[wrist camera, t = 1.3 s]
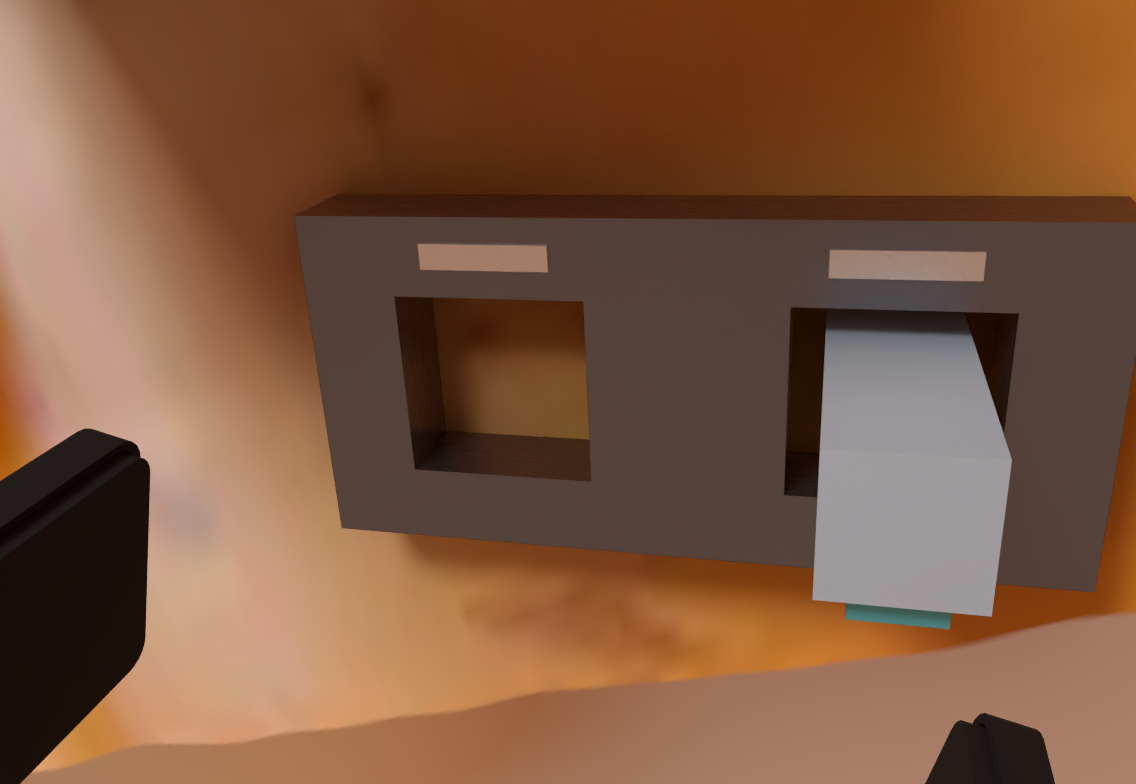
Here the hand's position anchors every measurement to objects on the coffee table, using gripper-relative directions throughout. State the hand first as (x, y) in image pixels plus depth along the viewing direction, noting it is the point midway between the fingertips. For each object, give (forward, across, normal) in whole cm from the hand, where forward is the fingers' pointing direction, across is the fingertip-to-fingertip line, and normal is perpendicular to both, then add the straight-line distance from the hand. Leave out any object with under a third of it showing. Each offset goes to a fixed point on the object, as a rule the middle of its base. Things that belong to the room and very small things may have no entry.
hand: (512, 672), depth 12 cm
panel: (+22, -1, +5) cm, 23 cm away
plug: (+22, -6, +4) cm, 24 cm away
